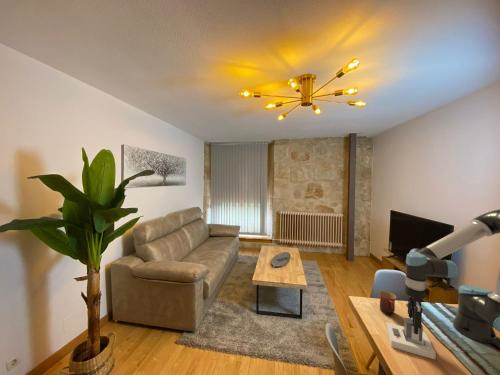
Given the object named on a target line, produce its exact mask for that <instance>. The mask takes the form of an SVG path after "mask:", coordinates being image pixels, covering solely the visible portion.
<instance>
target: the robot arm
mask: <svg viewBox="0 0 500 375" xmlns="http://www.w3.org/2000/svg"><path fill="white" fill-rule="evenodd" d="M469 222H470V223H468V224H466V225H465V226H462V227H461V228H458V229H457V230H455V231H453V232H451V233H449V234H447V235H446V236H444V237H442V238H440V239H438V240H436V241H434V242H431V243H430V244H429V245H426V246H425V247H423V248H421V249H420V248H412V249H411V250H410V251H409V253H407V254H406V259H405V278H404V281H405V287H404V289H405V290H404V293H405V294H406V295H407V315H408V318H410V319H411V318H412V319H413V324H411V326H412V331H411V339H413V340H417V341H419V328H420V329H421V324H422V321H423V320H422V318H423V310H424V309H423V307H422V302H421V300H425V299H426V292H427V291H426V289H427V277H435V278H436V277H438V278H446V279H449V278H451V279H452V278H453V279H454V278H457V277H458V275H459V268H458V266H457V264H456V263H455V262H454V261H452V260H450V259H449V260H447V259H442V258H444V257H447V256H448V255H451V254H452V253H454V252H457V251H458V250H461V249H463V248H465V247H466V246H468V245H471V244H473V243H475V242H476V241H479V240H480V239H482V238H484V237H492V236H493V235H497V234H500V209H495V210H492V211H491V210H490V211H488V212H485V213H483V214H480V215H478V216H476V217H474V218H472V219H471V220H470V221H469ZM457 292H458V297H457V298H458V301H457V302H458V303H457V304H458V305H457V306H458V307H457V313H456V315H455V317H454V318H453V320H452V326H453V328H454V329H455V330H456V331H457V332H459V333H460V334H461V335H463V336H465V337H467V338H469V339H471V340H475V342H476V341H477V342H481V343H484V344H495V343H497V334H496V331H497V332H499V333H500V268H499V270H498V274H497V278H496V281H495V286H494V289H493V291H492V290H489V289H487V288H484V287H481V286H475V285H470V284H469V285H467V284H463V285H460V286H459V287H458V291H457Z"/></svg>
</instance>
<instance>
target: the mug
mask: <svg viewBox="0 0 500 375" xmlns="http://www.w3.org/2000/svg"><path fill="white" fill-rule="evenodd" d="M378 295H379V296H378V297H379V310H380V311H381V312H382V313H383V314H385V315H389V316H391V315H392V316H393V315H394V314H395V312H396V305H395V303H396V299H397V296H396V295H395V293H392V292H390V291H387V290H379V291H378Z"/></svg>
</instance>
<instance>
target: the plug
mask: <svg viewBox="0 0 500 375" xmlns="http://www.w3.org/2000/svg"><path fill="white" fill-rule="evenodd" d="M403 321H404V323H403V327H404V333H405V336H406V337H408V338H411V331H412V326H411V324H413V319H412V318H411V319H410V317H405V316H404V320H403ZM423 329H424V326H423V324H422V323H421V329H420V328H419V341H421V342H422V333H423V332H424V330H423Z"/></svg>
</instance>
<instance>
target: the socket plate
mask: <svg viewBox="0 0 500 375" xmlns="http://www.w3.org/2000/svg"><path fill="white" fill-rule="evenodd" d="M385 325H386V332H387V337H388V339H389V340H388V341H389V344H390V348H394V349H396V350H401V351H404V352H408V353H411V354H415V355H419V356H420V357H425V358H428V359H432V360H436V357H437V356H436V354H437V353H436V350H435V349H434V347H433V345H432V343H431V340H430V339H429V337H428V335H427V333H426V332H425V331H423V333H422V342H421V341H417V340H413V339H411V338H408V337H406V336H405V333H404V325H398V324H394V323H390V322H387V321H386V323H385Z"/></svg>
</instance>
